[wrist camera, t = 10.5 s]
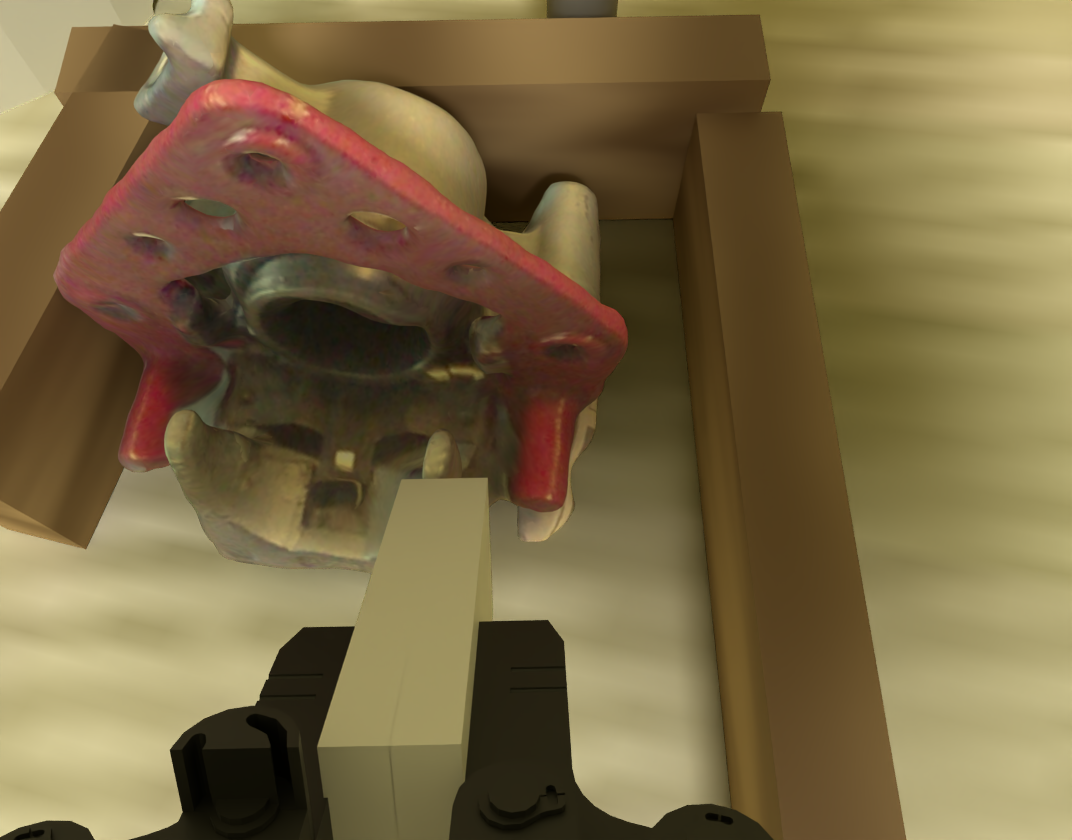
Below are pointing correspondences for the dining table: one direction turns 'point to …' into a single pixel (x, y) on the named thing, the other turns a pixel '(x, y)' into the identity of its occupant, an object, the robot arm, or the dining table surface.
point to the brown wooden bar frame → (513, 195)
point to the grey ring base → (50, 40)
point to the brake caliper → (336, 307)
